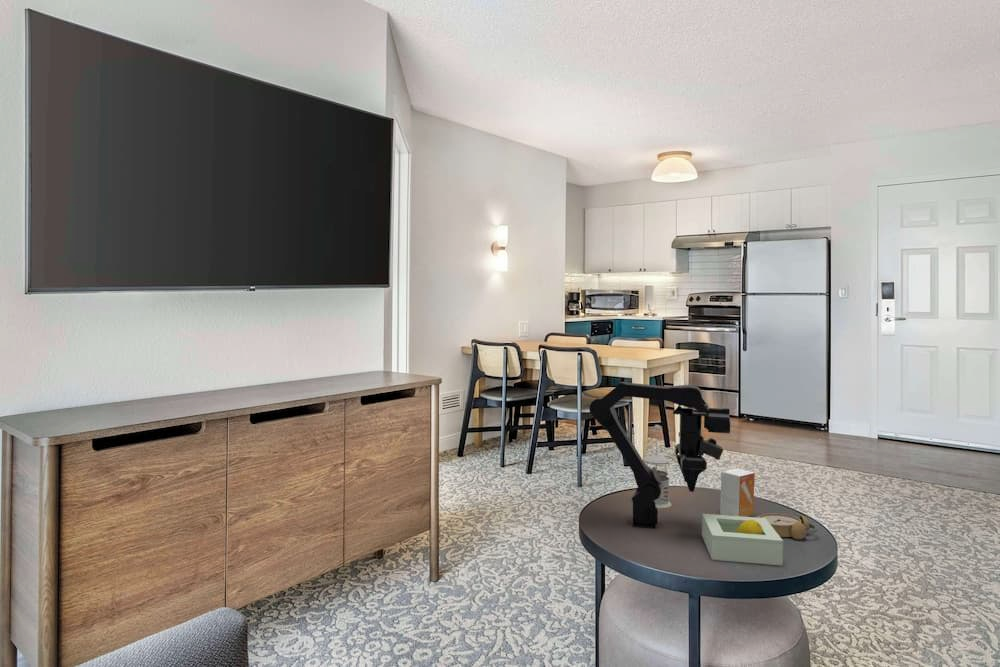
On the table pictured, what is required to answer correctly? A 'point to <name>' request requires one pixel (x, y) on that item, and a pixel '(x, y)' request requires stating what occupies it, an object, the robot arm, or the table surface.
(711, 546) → the pale green square tray
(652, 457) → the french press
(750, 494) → the small box
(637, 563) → the table surface
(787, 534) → the alarm clock
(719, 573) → the table surface
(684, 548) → the table surface
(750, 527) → the lemon
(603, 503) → the table surface
